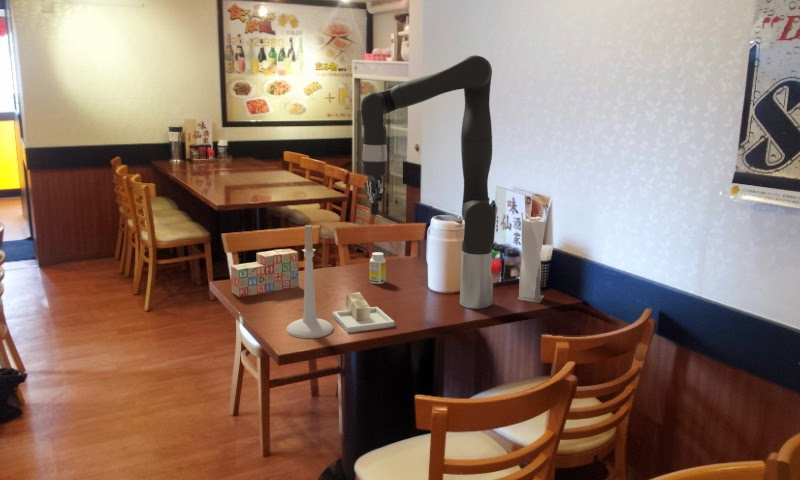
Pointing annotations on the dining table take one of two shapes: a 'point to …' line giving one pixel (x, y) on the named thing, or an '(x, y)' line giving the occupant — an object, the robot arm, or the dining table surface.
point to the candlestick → (309, 300)
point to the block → (358, 306)
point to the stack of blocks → (266, 273)
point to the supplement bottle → (377, 268)
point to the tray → (351, 325)
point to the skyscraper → (531, 259)
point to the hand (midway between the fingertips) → (374, 214)
